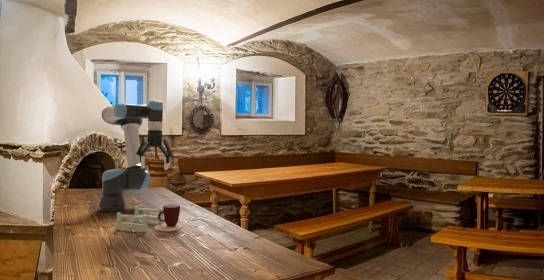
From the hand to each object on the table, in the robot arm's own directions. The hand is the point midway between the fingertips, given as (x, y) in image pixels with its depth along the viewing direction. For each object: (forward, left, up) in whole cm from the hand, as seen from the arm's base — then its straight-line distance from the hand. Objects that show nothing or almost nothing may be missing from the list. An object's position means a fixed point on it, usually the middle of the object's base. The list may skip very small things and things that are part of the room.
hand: (154, 168), depth 221 cm
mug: (+17, -17, -26) cm, 36 cm away
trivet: (+17, -17, -27) cm, 36 cm away
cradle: (+3, -19, -27) cm, 33 cm away
